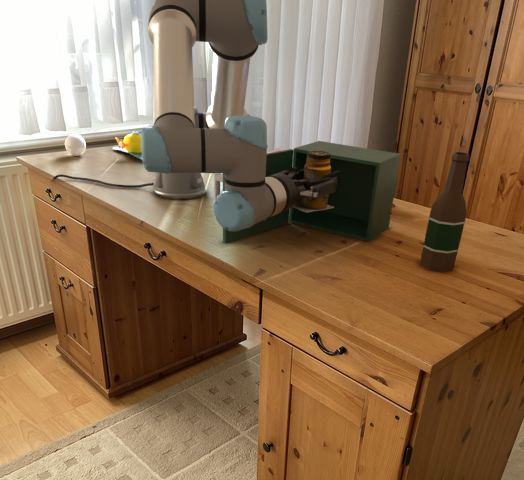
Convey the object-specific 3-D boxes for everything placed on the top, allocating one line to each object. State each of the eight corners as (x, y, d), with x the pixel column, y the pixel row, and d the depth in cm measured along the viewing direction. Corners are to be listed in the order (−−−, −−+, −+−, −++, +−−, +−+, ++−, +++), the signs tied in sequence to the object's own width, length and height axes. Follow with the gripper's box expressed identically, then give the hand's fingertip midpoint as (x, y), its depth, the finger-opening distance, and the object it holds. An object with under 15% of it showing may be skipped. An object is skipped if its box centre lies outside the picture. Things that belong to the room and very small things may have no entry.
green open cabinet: (368, 241, 132) (379, 162, 122) (288, 222, 142) (293, 148, 132) (388, 228, 141) (400, 153, 131) (312, 210, 151) (318, 140, 142)
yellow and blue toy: (101, 126, 201) (138, 124, 210) (103, 150, 206) (139, 147, 214) (136, 139, 183) (175, 136, 191) (137, 165, 187) (175, 161, 196)
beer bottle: (413, 259, 123) (435, 148, 110) (446, 259, 124) (472, 149, 111) (425, 272, 116) (449, 157, 104) (460, 273, 117) (488, 158, 105)
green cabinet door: (207, 236, 130) (206, 157, 121) (271, 217, 144) (274, 145, 135) (225, 243, 127) (225, 162, 117) (288, 223, 141) (293, 149, 131)
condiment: (335, 208, 126) (340, 154, 119) (306, 213, 121) (311, 158, 115) (314, 200, 131) (319, 148, 124) (287, 205, 126) (290, 151, 120)
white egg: (63, 154, 198) (59, 133, 194) (83, 152, 202) (80, 131, 198) (72, 160, 191) (69, 138, 187) (93, 158, 195) (90, 136, 191)
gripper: (234, 204, 116) (289, 183, 132) (311, 223, 107) (360, 198, 124) (234, 168, 112) (291, 151, 128) (315, 185, 103) (365, 164, 120)
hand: (325, 174), depth 126 cm, fingers closed on condiment, 6 cm apart
